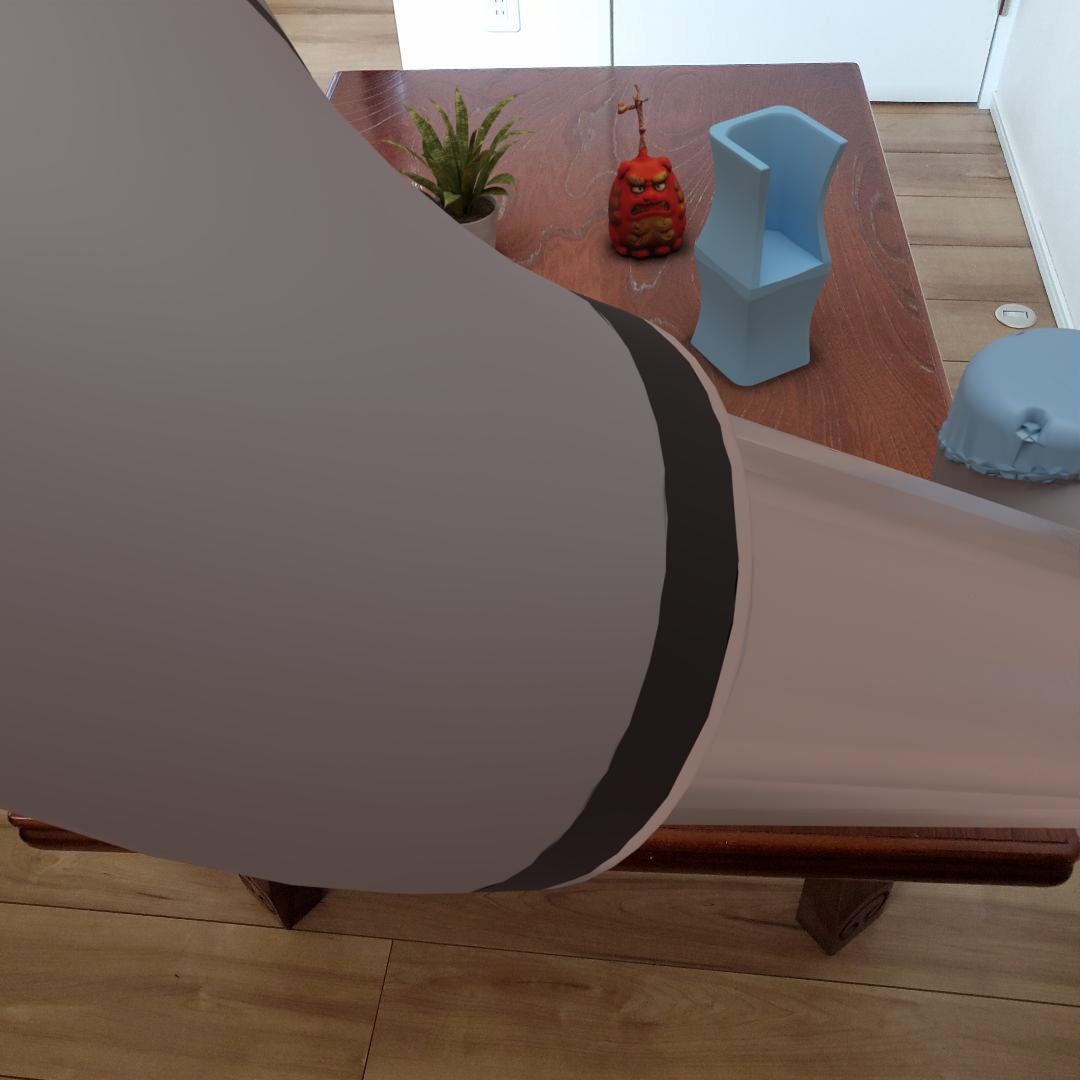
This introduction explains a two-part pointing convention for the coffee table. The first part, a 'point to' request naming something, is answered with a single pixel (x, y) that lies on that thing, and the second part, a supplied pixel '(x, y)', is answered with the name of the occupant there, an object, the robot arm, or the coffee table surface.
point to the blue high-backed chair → (764, 242)
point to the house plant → (464, 168)
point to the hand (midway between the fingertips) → (409, 438)
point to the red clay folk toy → (645, 201)
